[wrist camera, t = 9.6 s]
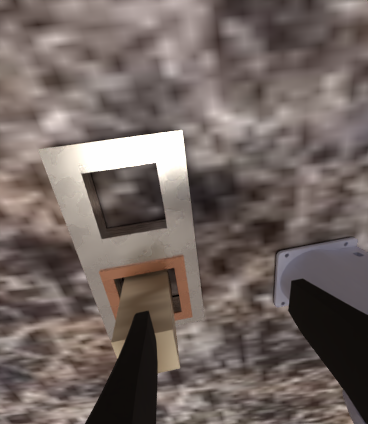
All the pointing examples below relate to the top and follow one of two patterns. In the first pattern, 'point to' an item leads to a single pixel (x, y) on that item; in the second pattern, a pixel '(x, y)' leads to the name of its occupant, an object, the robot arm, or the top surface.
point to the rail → (130, 234)
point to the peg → (159, 312)
